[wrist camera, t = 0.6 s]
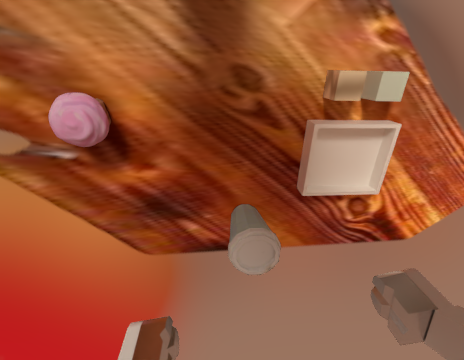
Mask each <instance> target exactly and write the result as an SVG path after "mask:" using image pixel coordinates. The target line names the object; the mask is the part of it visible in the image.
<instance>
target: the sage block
mask: <svg viewBox="0 0 464 360" xmlns="http://www.w3.org/2000/svg"><path fill="white" fill-rule="evenodd" d="M409 73H410V72H390V71H367V75H366V79H365V83H364V87H363V91H362V95H361V98H364V99H368V100H373V101H401V98H402V95H403V92H404V89H405V85H406V82H407V79H408V76H409Z"/></svg>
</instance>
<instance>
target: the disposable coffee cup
mask: <svg viewBox="0 0 464 360" xmlns="http://www.w3.org/2000/svg"><path fill="white" fill-rule="evenodd" d="M280 249H281V245H280V242H279V240H278V238H277V236H276V234H275V233H273V232H272V231H271V230H270V228H269V227H268V225H267V224H266V222H265V221H264V220H263V218H262V217H261V215H260V214H259V212H258V211H257V209H256V208H255V207H253V206H251V205H249V204H241V205H239V206H237V207H236V208H235V209H234V211H233V212H232V214H231V229H230V244H229V246H228V257H229V260H230V261H231V262H232V264H233V265H234V267H235V268H237V270H239V271H241V272H244V273H246V274H247V275H261V274H263V273H265V272H268V271H270V270H271V269H272V268H273V267H274V266H275V265H276V264H277V263H278V262H279V256H280Z"/></svg>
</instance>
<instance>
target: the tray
mask: <svg viewBox="0 0 464 360" xmlns="http://www.w3.org/2000/svg"><path fill="white" fill-rule="evenodd" d="M401 125H402V124H399V123H396V122H392V121H389V120H307V125H306V131H305V137H304V144H303V150H302V156H301V163H300V169H299V175H298V182H297V189H298V190H299V192H300V193H301V195H302V196H320V195H363V194H379V191H380V188H381V185H382V182H383V179H384V176H385V173H386V170H387V167H388V164H389V161H390V158H391V155H392V152H393V149H394V146H395V143H396V140H397V137H398V134H399V131H400V128H401Z"/></svg>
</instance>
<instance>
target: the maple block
mask: <svg viewBox="0 0 464 360" xmlns="http://www.w3.org/2000/svg"><path fill="white" fill-rule="evenodd" d="M366 75H367V71H347V70H328V71H327V76H326V82H325V87H324V93H323V98H327V99H330V100H334V101H360V99H361V95H362V91H363V87H364V83H365V79H366Z"/></svg>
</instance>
